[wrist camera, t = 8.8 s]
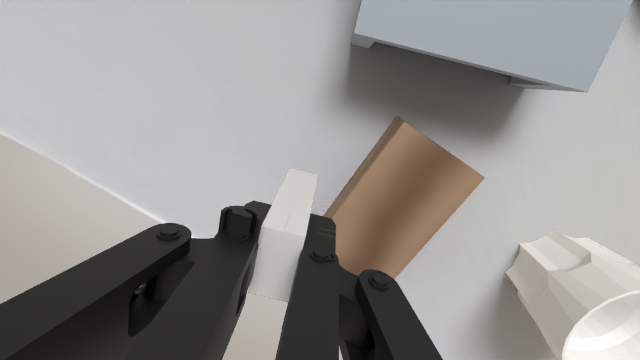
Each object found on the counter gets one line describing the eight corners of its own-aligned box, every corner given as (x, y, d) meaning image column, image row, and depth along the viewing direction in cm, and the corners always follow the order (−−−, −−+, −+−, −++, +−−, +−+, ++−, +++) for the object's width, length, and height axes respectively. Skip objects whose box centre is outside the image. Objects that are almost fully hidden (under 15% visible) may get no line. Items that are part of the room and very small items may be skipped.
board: (311, 231, 32) (306, 251, 28) (396, 115, 28) (404, 121, 24) (375, 270, 33) (379, 296, 29) (466, 164, 29) (485, 177, 25)
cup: (524, 210, 30) (608, 272, 20) (626, 236, 30) (757, 310, 20) (481, 295, 33) (537, 383, 23) (574, 319, 33) (666, 416, 23)
